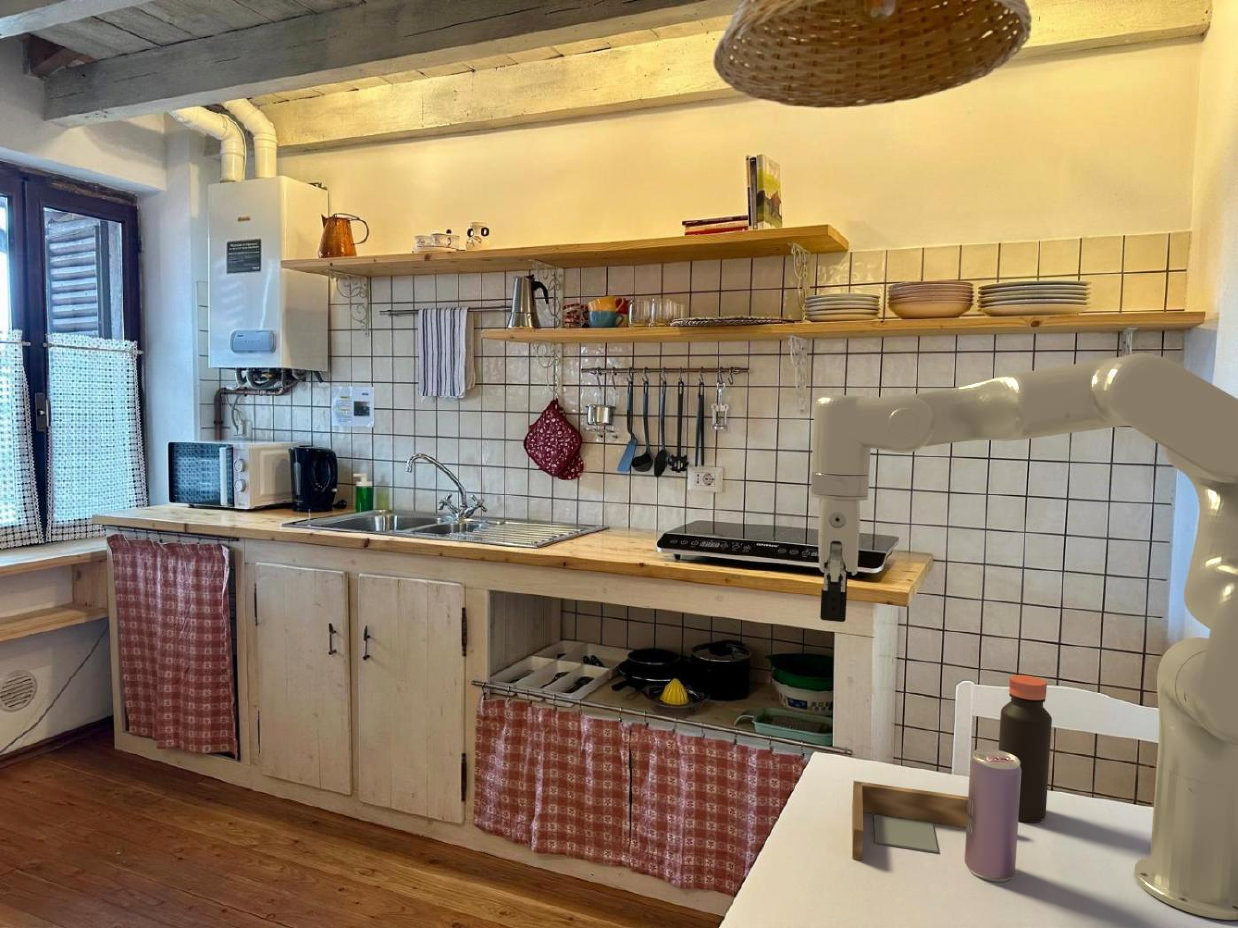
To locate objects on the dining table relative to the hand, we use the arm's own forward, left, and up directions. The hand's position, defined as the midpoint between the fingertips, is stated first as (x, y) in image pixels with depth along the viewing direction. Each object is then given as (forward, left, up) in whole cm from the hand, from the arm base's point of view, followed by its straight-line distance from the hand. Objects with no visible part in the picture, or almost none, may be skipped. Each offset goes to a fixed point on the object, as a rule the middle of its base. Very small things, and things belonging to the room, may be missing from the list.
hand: (833, 612), depth 115 cm
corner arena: (-14, -2, -31) cm, 34 cm away
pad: (-11, -3, -31) cm, 33 cm away
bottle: (-28, -16, -31) cm, 45 cm away
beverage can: (-21, +3, -31) cm, 38 cm away
